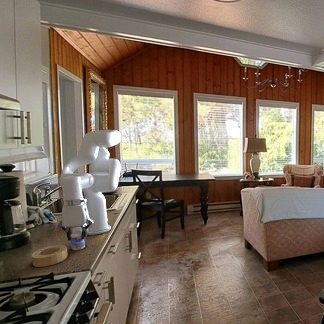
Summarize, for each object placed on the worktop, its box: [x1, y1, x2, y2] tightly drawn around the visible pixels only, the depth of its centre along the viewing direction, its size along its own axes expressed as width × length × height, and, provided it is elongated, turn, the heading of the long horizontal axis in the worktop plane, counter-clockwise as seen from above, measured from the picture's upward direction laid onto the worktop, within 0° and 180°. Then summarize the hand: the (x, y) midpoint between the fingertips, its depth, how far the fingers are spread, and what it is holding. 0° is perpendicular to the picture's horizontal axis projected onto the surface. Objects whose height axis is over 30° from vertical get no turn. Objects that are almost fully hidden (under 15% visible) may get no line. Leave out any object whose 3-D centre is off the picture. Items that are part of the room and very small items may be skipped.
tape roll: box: [31, 244, 69, 268], centre depth 115 cm, size 12×12×4 cm
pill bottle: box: [70, 226, 86, 251], centre depth 126 cm, size 5×5×10 cm
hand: (77, 238), depth 126 cm, fingers closed on pill bottle, 5 cm apart
